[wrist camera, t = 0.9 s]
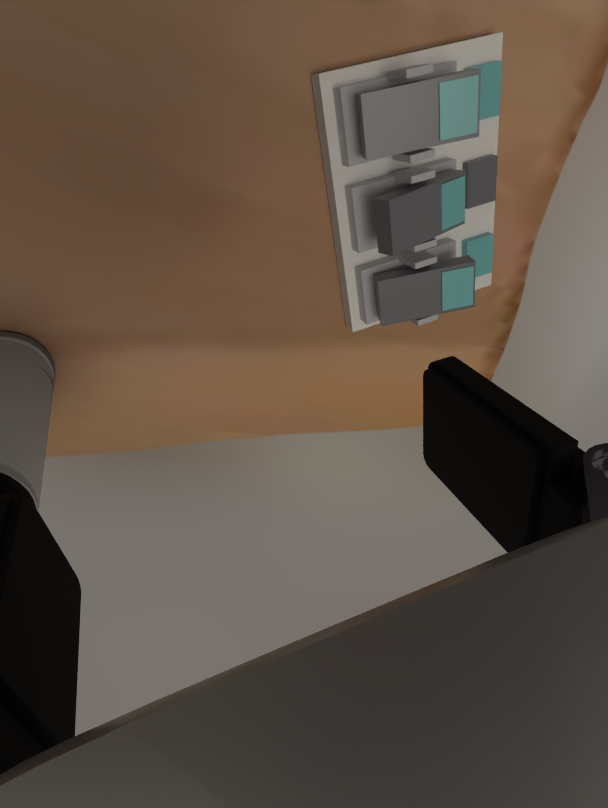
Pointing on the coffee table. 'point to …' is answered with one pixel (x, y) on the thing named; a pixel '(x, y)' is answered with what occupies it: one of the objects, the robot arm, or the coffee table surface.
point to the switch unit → (405, 170)
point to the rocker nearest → (419, 113)
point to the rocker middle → (419, 212)
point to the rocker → (425, 290)
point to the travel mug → (24, 414)
